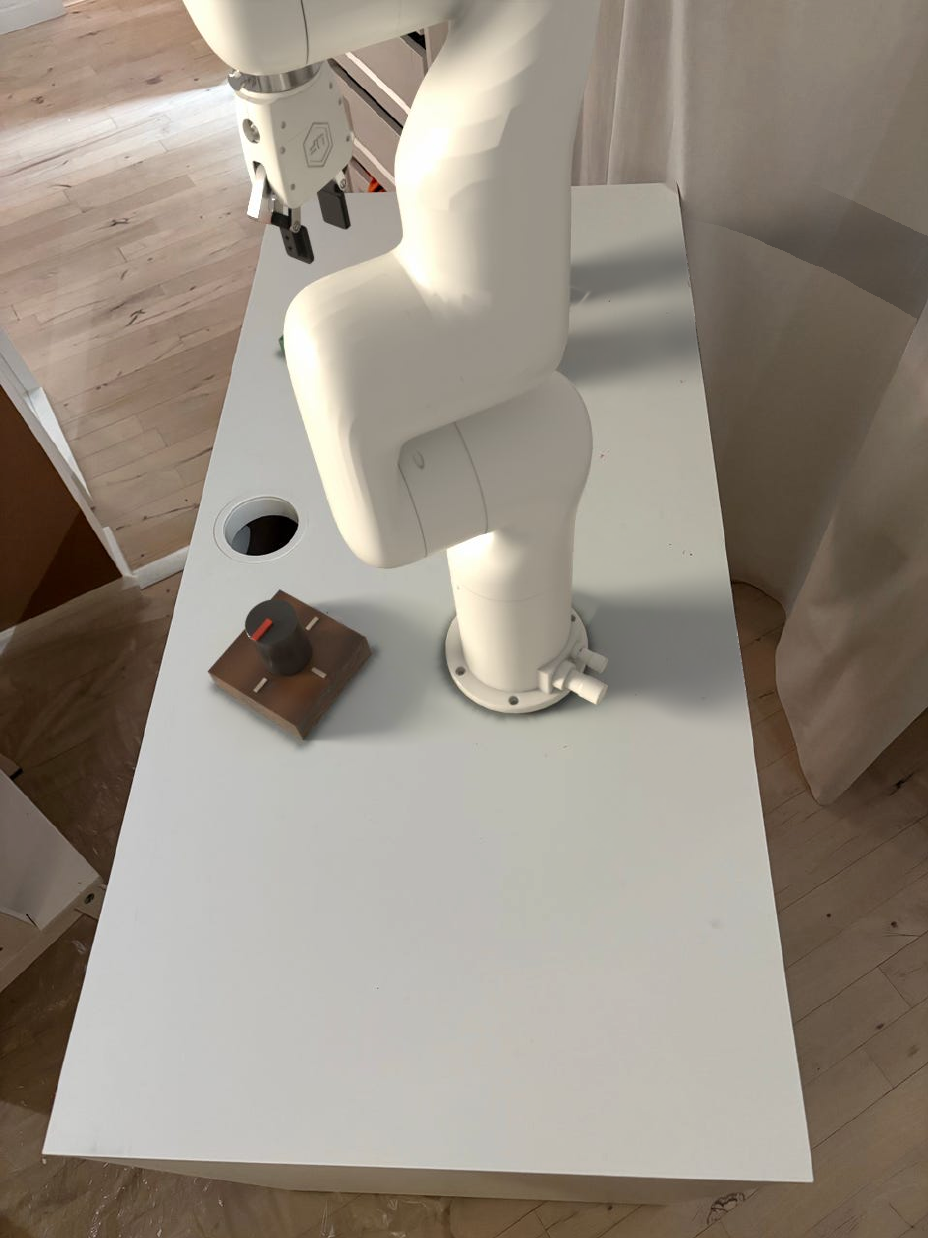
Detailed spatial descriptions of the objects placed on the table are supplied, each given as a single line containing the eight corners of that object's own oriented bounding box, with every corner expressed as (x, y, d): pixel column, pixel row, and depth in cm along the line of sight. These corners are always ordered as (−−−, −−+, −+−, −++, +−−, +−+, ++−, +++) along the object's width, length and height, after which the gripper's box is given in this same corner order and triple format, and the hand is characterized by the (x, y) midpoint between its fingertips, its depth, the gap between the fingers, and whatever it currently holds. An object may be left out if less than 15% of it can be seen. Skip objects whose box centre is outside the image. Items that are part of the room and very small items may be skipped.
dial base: (372, 654, 86) (366, 636, 83) (303, 741, 82) (295, 725, 79) (287, 606, 89) (279, 587, 86) (217, 687, 85) (206, 670, 83)
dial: (283, 624, 84) (266, 588, 80) (321, 646, 83) (307, 611, 78) (251, 661, 83) (232, 627, 78) (290, 684, 81) (273, 651, 76)
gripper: (243, 121, 76) (295, 303, 91) (369, 19, 83) (398, 204, 98) (175, 98, 79) (237, 279, 94) (303, 0, 85) (341, 184, 101)
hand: (319, 239), depth 96 cm, fingers open, 5 cm apart
